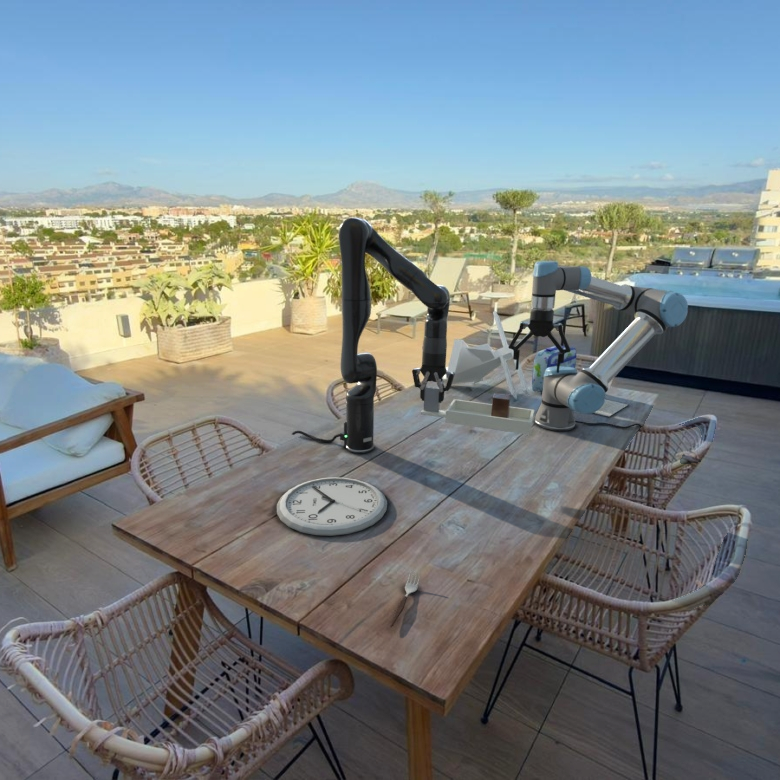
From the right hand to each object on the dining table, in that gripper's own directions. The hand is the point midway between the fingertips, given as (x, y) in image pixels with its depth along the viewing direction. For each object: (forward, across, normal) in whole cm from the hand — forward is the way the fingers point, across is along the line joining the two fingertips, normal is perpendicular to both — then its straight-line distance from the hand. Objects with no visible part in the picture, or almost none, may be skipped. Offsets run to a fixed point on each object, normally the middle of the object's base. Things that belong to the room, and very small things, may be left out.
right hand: (537, 370), depth 181 cm
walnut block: (+10, +10, +25) cm, 29 cm away
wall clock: (+25, +50, +65) cm, 86 cm away
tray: (+11, +17, +25) cm, 32 cm away
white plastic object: (+26, +26, -52) cm, 64 cm away
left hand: (+6, +32, +24) cm, 40 cm away
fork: (+25, +21, +97) cm, 102 cm away
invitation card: (+28, -27, -49) cm, 63 cm away
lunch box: (+27, -7, -67) cm, 73 cm away
